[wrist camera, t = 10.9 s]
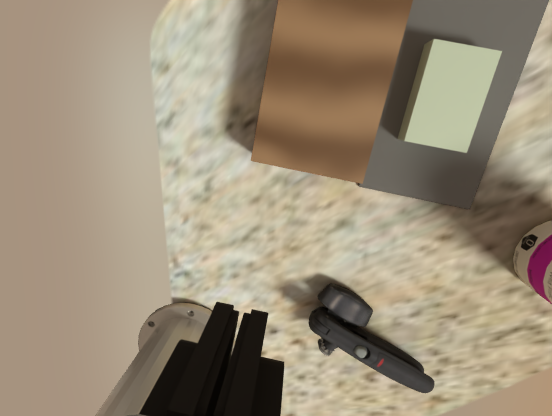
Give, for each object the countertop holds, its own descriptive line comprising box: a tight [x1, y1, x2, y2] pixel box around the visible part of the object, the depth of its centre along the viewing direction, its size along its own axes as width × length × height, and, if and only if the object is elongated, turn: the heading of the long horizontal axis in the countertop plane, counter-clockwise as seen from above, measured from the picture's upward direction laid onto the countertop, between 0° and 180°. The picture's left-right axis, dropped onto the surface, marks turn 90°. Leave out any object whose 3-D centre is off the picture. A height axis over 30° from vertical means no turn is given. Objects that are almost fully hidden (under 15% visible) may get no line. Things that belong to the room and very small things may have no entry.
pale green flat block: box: [398, 39, 502, 153], centre depth 31 cm, size 9×6×2 cm, turn 170°
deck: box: [251, 0, 413, 184], centre depth 31 cm, size 18×11×4 cm, turn 169°
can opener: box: [309, 284, 434, 393], centre depth 39 cm, size 18×7×6 cm, turn 52°
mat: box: [359, 0, 549, 209], centre depth 33 cm, size 20×12×1 cm, turn 169°
